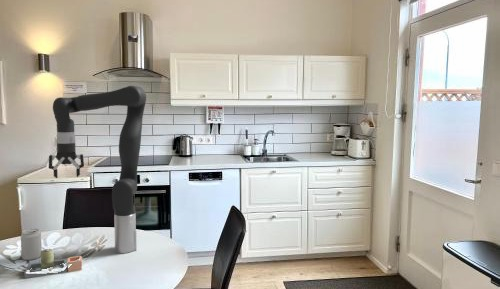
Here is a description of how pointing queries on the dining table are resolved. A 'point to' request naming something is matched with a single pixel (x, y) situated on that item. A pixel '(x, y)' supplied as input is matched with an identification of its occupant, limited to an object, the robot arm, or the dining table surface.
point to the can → (31, 244)
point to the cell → (47, 258)
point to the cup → (75, 263)
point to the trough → (38, 265)
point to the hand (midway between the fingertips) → (67, 177)
